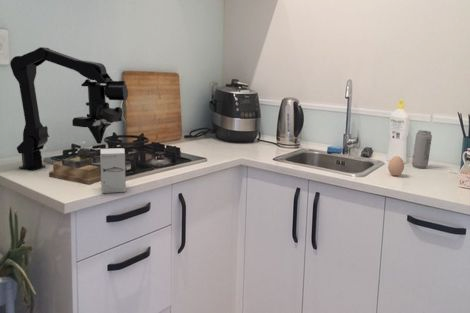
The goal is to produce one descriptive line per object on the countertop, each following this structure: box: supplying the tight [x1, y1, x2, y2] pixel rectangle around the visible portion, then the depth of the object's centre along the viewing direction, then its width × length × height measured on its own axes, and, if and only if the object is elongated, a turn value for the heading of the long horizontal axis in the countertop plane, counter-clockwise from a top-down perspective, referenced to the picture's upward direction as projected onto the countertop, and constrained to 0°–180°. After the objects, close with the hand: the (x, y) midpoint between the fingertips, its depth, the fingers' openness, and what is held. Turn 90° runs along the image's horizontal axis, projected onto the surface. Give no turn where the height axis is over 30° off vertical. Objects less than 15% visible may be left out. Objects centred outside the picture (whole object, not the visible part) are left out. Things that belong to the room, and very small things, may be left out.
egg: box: [387, 155, 405, 177], centre depth 159 cm, size 6×6×8 cm
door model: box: [48, 151, 101, 185], centre depth 146 cm, size 18×16×6 cm
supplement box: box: [99, 147, 127, 194], centre depth 130 cm, size 7×7×13 cm
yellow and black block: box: [69, 147, 91, 163], centre depth 143 cm, size 4×6×5 cm, turn 155°
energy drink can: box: [411, 129, 433, 169], centre depth 172 cm, size 6×6×15 cm
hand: (99, 143), depth 150 cm, fingers closed
